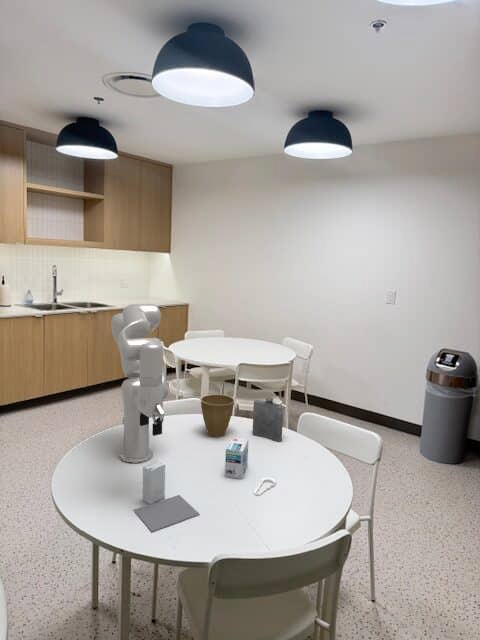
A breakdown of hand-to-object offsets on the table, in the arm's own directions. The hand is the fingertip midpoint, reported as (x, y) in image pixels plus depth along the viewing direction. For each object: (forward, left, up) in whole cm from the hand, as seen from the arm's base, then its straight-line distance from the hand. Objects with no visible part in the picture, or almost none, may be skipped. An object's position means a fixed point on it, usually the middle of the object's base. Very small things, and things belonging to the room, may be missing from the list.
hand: (150, 429), depth 150 cm
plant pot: (-27, +45, -21) cm, 56 cm away
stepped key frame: (+21, +34, -22) cm, 45 cm away
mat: (+16, -2, -21) cm, 27 cm away
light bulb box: (+6, +32, -21) cm, 39 cm away
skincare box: (+7, -2, -21) cm, 22 cm away
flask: (-12, +62, -21) cm, 66 cm away
